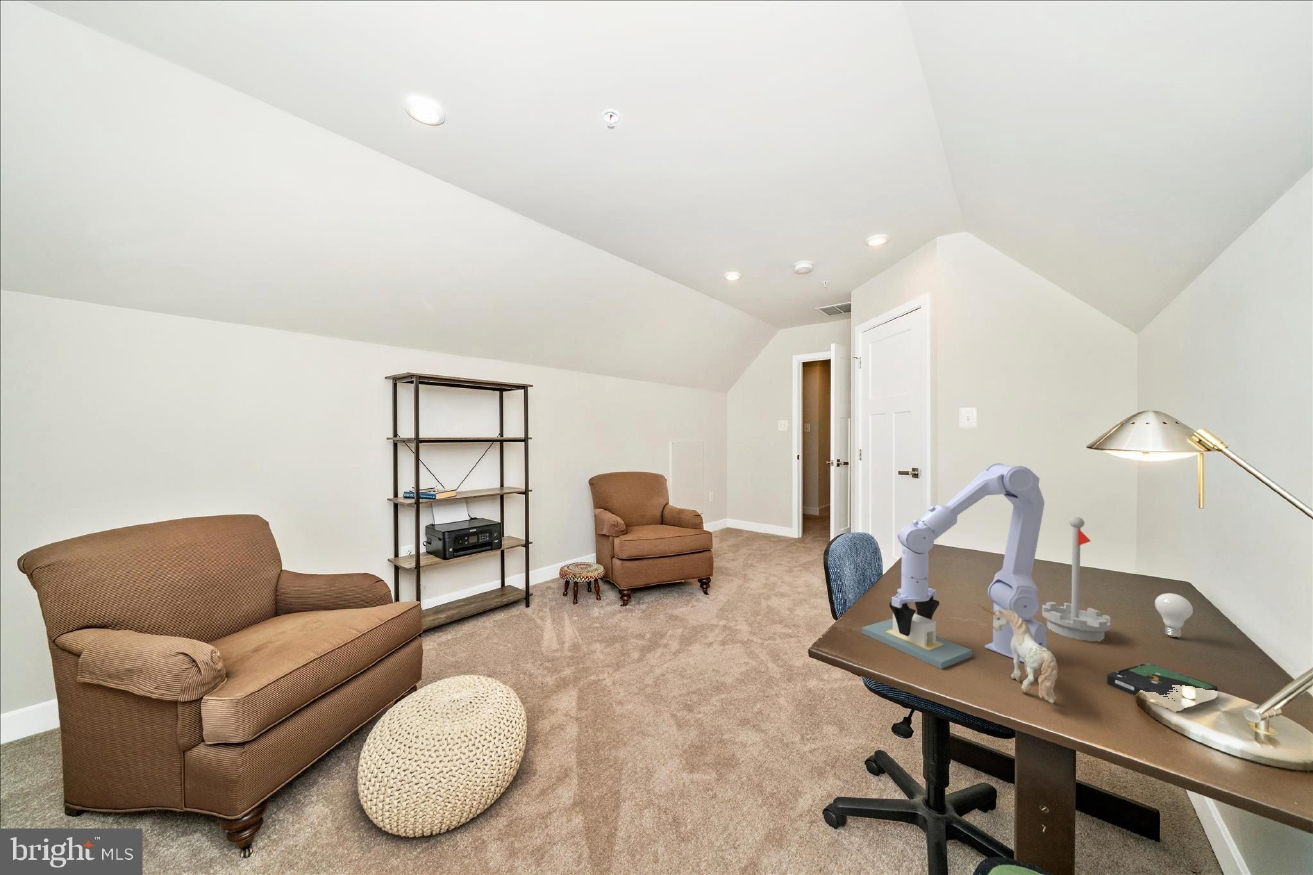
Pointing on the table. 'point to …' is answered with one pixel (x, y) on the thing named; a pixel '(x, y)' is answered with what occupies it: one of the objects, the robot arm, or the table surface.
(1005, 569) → the robot arm
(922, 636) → the channel block
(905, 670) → the table surface
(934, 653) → the pin board
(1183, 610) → the lightbulb
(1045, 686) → the unicorn figurine
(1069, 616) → the flag stand
